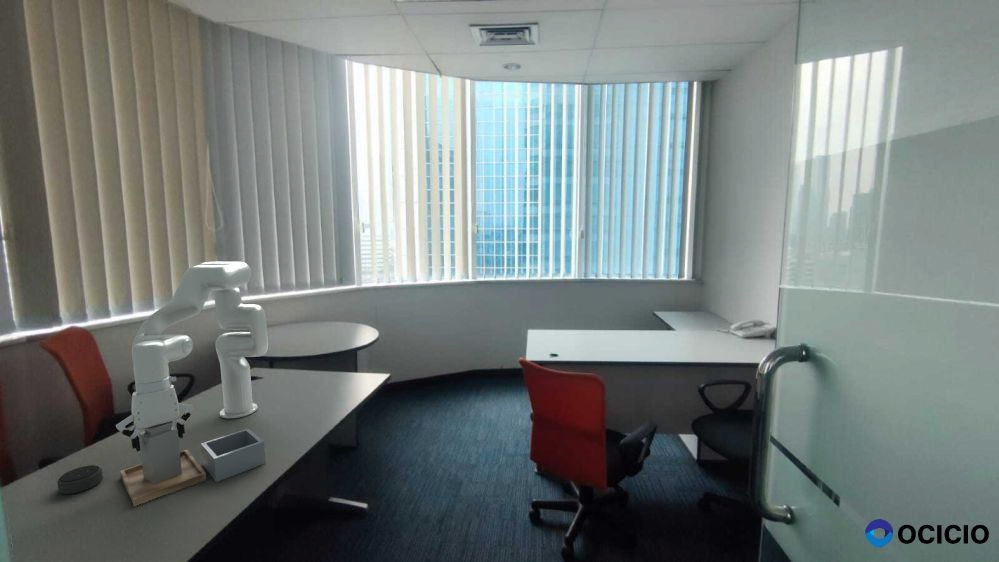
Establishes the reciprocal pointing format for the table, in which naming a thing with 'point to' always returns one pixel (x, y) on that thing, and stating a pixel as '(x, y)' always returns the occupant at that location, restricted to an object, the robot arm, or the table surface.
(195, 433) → the table surface
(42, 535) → the table surface
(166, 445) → the perfume bottle
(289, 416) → the table surface
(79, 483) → the smart speaker
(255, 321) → the robot arm
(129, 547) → the table surface
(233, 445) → the grey storage bin
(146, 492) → the tray
